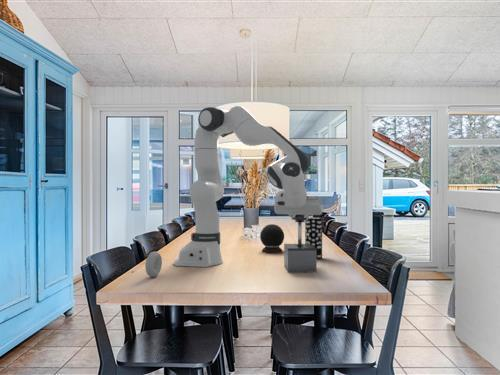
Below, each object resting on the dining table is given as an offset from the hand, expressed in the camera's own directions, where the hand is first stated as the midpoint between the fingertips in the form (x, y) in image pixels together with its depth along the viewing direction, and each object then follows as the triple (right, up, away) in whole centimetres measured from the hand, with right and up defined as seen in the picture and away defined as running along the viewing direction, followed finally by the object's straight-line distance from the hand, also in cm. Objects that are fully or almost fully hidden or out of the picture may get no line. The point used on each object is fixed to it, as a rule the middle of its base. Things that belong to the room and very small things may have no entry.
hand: (300, 218), depth 160 cm
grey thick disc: (-60, -22, -15) cm, 65 cm away
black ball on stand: (-10, -22, +42) cm, 48 cm away
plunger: (0, -15, -1) cm, 15 cm away
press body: (0, -22, -1) cm, 22 cm away
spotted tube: (+10, -22, +24) cm, 34 cm away
